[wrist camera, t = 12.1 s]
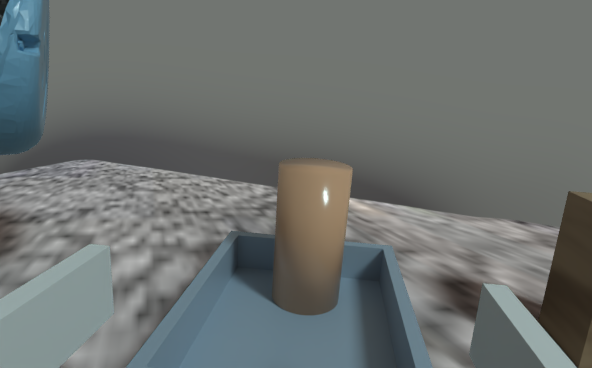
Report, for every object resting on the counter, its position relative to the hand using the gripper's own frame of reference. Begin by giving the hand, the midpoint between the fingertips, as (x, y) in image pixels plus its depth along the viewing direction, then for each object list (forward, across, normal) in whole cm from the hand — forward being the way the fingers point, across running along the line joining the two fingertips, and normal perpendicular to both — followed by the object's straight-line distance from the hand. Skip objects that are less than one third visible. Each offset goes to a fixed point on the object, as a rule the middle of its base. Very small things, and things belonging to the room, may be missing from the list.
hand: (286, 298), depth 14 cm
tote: (+10, 0, -8) cm, 13 cm away
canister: (+14, 0, -8) cm, 16 cm away
